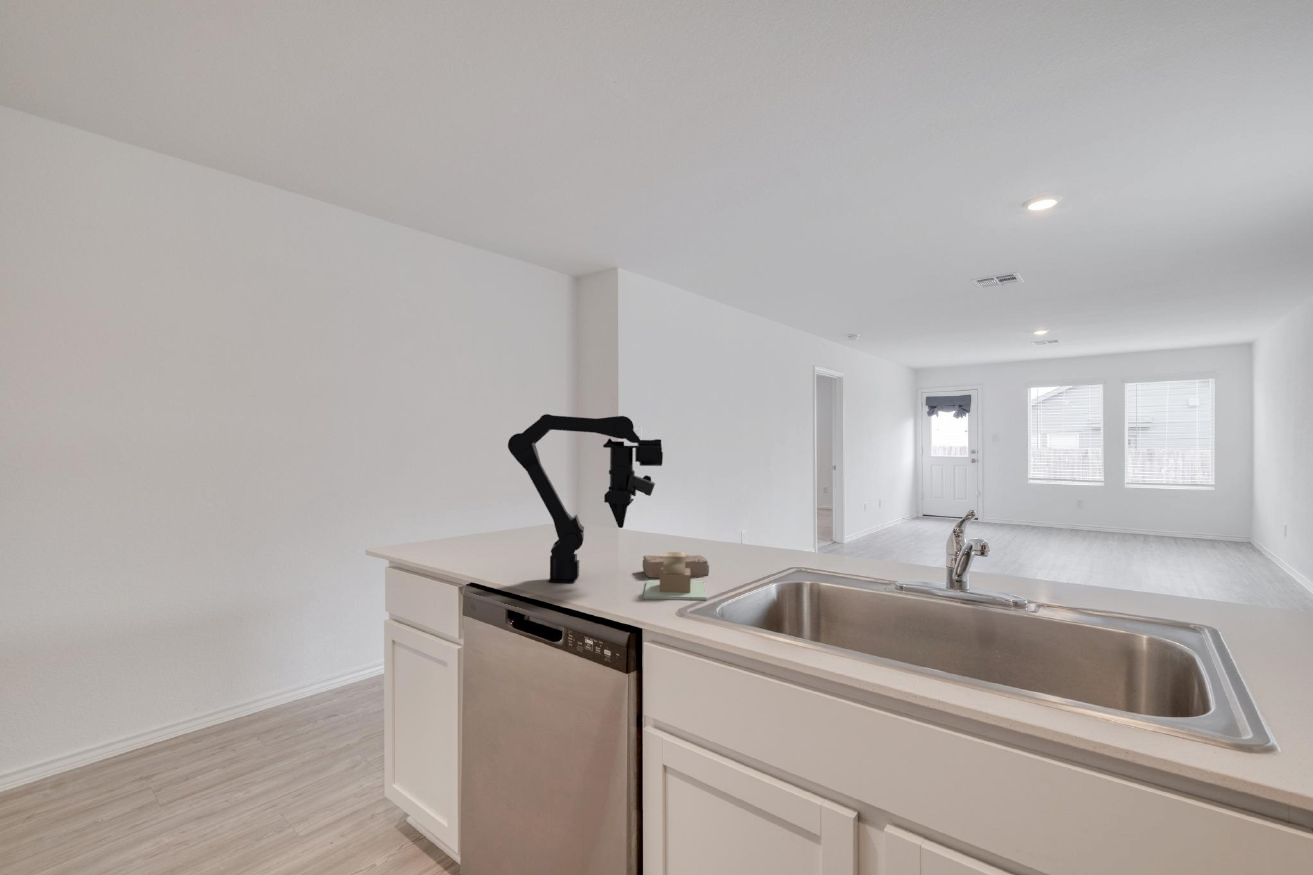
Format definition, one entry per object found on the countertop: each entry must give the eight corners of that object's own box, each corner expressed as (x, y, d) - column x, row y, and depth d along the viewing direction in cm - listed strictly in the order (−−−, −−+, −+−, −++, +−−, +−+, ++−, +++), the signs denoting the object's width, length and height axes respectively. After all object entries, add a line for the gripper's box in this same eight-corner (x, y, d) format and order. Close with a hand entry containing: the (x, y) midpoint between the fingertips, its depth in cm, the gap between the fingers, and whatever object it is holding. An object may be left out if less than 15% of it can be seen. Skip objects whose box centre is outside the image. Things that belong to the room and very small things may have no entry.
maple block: (663, 573, 133) (663, 556, 133) (663, 568, 138) (663, 551, 138) (685, 574, 133) (685, 556, 133) (684, 569, 138) (684, 552, 138)
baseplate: (643, 598, 129) (643, 577, 129) (647, 582, 143) (647, 564, 143) (706, 600, 128) (706, 579, 128) (703, 583, 142) (704, 565, 142)
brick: (701, 569, 159) (701, 552, 159) (710, 576, 151) (710, 558, 151) (641, 572, 156) (641, 554, 156) (647, 580, 147) (647, 561, 147)
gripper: (651, 468, 136) (650, 534, 136) (655, 464, 155) (654, 522, 155) (604, 467, 137) (603, 533, 137) (613, 464, 156) (613, 522, 156)
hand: (620, 527), depth 146 cm, fingers closed
